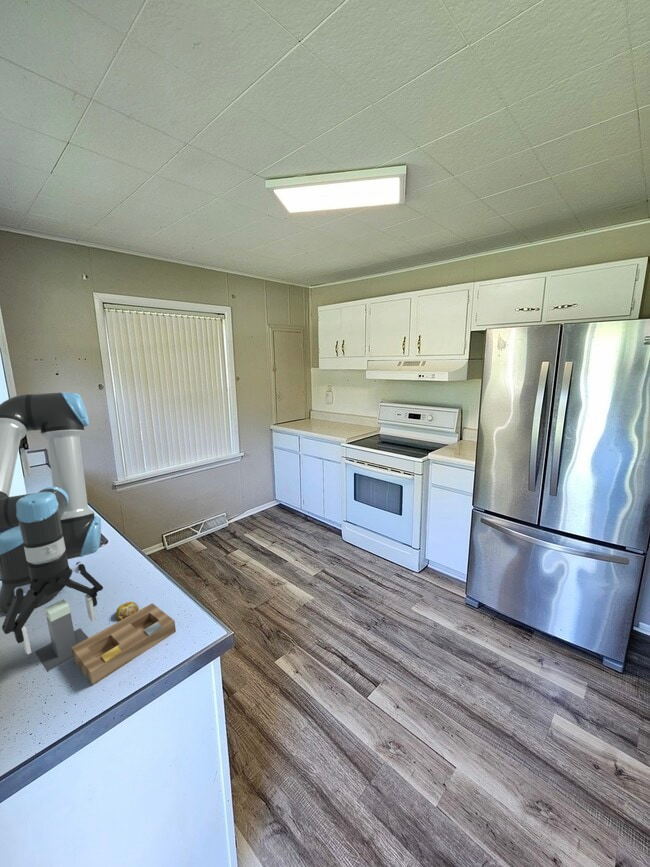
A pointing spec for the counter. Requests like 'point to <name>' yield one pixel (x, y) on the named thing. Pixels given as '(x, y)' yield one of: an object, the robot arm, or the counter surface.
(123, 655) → the socket block
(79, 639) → the mat
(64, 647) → the plug
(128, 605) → the fruit
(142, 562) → the counter surface
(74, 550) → the robot arm
